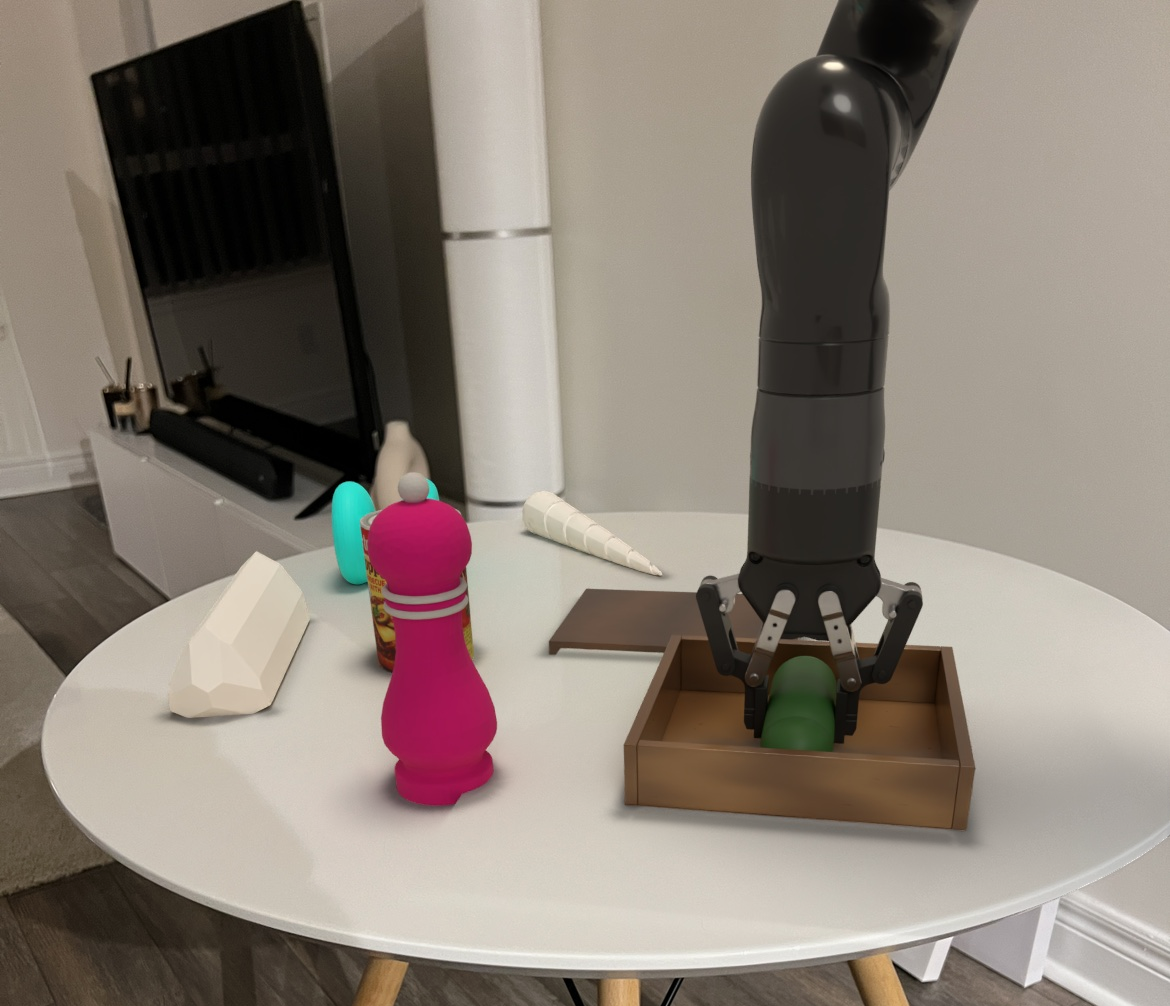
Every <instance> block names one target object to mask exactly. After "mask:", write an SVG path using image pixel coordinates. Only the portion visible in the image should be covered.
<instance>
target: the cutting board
mask: <svg viewBox="0 0 1170 1006" xmlns="http://www.w3.org/2000/svg"><path fill="white" fill-rule="evenodd" d="M696 593H697V591H696V592H695V591H670V590H669V591H668V590H639V589H613V588H611V589H609V588H585V589H584V591H583V592H582V594H581V595H580V597H579V598H578V599H577V600H576V602H575V603H574V605H573V606H572V608H571V610H570V611H568V613H567V614H566V616H565V617H564V619H563V621H562V622H561V623H560V625H559V626H558V627H557V629H556V630H555V632H554V633H553V635H552V636H551V637H550V639H549V640H548V652H549V653H548V654H549V655H551V656H556V655H558V653H559V651H560V650H561V649H575V650H576V649H577V650H596V651H619V652H641V653H663V654H664V652H665V650H666V647H667V645H668V643H669V641H670V638H671V636H672V635H681V636H683V635H687V636H707V634H706V631H705V627H704V624H703V620H702V617H701V613H700V610H699V607H698V603H697V600H696ZM728 614H729V618H730V621H731V625H732V628H733V632H734V635H735V638H757V637H758V634H759V631H760V629H761V626H762V623H763V622H762V621H761V619H760V618H759V616H758V615H757V614H756V612H755V611H754V609H753V608H752V607H751V605H750V604H749V602H748V601H747V599H746V598H745V597H744V595H743V594H742V593H737V594H736V595H735V604H734V607H733V609H732V611H731V612H729V613H728ZM781 640H801V638H797V639H781Z"/></svg>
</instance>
